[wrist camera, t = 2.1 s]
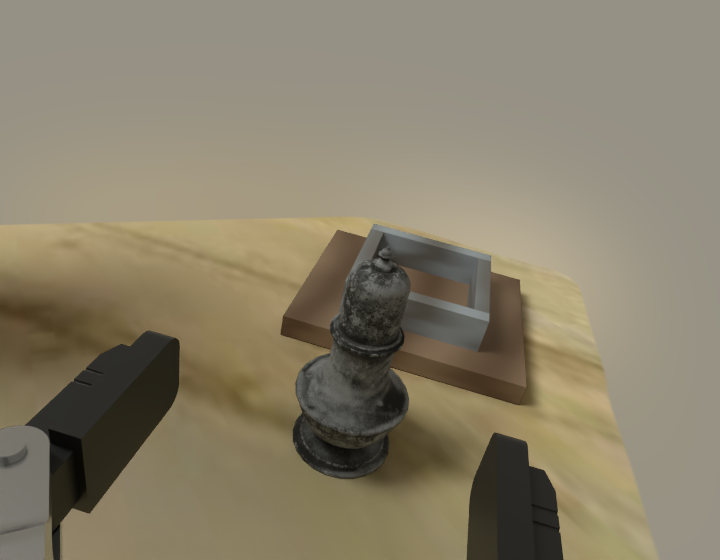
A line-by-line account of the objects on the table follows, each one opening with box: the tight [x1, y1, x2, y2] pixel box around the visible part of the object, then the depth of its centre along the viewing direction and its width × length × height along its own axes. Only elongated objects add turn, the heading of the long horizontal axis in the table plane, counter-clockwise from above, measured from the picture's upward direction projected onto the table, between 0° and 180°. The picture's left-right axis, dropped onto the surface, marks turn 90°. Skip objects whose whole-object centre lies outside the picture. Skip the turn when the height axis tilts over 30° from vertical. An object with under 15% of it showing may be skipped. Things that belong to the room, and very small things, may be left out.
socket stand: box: [281, 224, 527, 405], centre depth 41 cm, size 16×14×4 cm
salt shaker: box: [293, 246, 411, 479], centre depth 27 cm, size 6×6×12 cm
